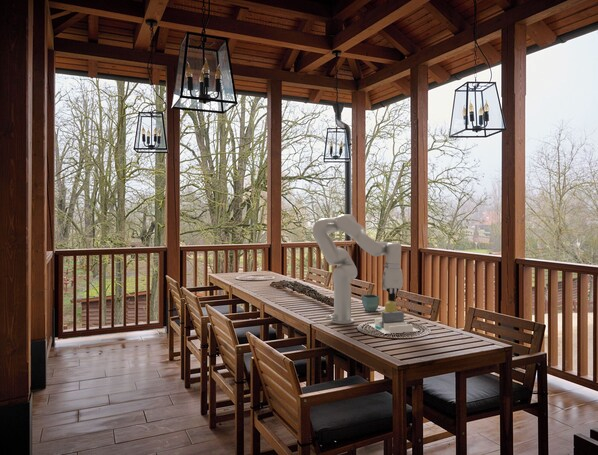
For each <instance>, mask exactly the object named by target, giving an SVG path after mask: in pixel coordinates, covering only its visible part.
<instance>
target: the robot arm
mask: <svg viewBox="0 0 598 455" xmlns="http://www.w3.org/2000/svg"><path fill="white" fill-rule="evenodd" d="M312 227H313V228H312V236H313V238H314V240H315V242H316V244H317V245H318V246H319V249H320V251H321V253H322V255H323V256H324V259H325V260H326V263H328V264H329V265H330V266H336V267H335V268H334V269H333V272H332V281H333V312H332V314H327V315H325V319H327V320H328V319H329V320H330V321H331V323H334V324H340V325H349V324H353V323H354V321H355V319H354V318H352V287H351V284H350V282H351V281H353V280H355V279H356V277H357V276H358V269H357V267H356V265H355V262H354V261H353V259H352V256H350V254H349V252H348V251H347V250H346V249H345V248H343V247H337V246H336V244H335V242H334V240H333V239H332V237H330V236H329V233H331V234H332V233H337V232H343V233H345V234H346V235H347V236H349V237H350V238H352V239H353V240H354V241H355V243H356V244H357V245H358V246H359V247H360V248H361V249H362V250H363V251H364V252H366V253H368V254H369V255H371V256H372V257H381V256H385V264H383V268H384V267H385V268H384V270H383V275H382V283H381V285H382V287H381V288H382V290H383V291H386V292H387V293H388V301H394V302H395V299H396V294H397V292H398V291H401V290H402V289H403V286H404V275H403V269H401V260H402V245H401V243H399V242H388V241H382V240H380V241H376V240H374V239H373V238H372V237H370V236H369V235H368V234H367V233H366V229H365V227H364V226H363V225H362V224H360V223H358V221H357V219H356V217H355V216H354V215H353V214H349V213H348V214H340V215H338V216H336V217H335V216H334V217H324V218H319V219H318V220H316V221H315V223H314V224H313V226H312Z"/></svg>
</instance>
